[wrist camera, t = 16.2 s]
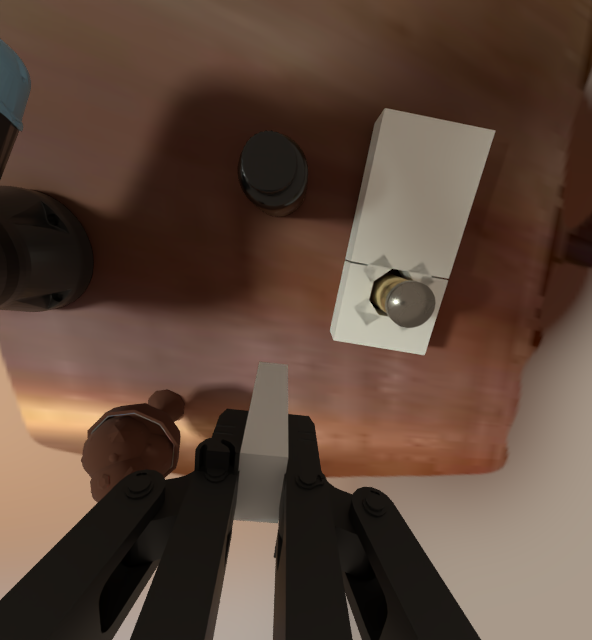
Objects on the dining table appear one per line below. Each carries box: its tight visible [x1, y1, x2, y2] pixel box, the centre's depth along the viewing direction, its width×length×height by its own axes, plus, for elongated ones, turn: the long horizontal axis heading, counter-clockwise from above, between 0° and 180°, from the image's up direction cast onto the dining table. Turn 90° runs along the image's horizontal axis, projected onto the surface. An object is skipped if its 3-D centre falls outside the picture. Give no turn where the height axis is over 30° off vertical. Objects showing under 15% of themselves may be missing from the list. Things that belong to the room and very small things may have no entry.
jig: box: [330, 108, 495, 355], centre depth 35 cm, size 12×26×4 cm, turn 170°
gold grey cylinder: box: [369, 273, 435, 328], centre depth 34 cm, size 5×5×10 cm
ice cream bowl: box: [81, 390, 184, 502], centre depth 37 cm, size 11×11×15 cm
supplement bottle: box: [238, 131, 308, 217], centre depth 30 cm, size 7×7×12 cm
